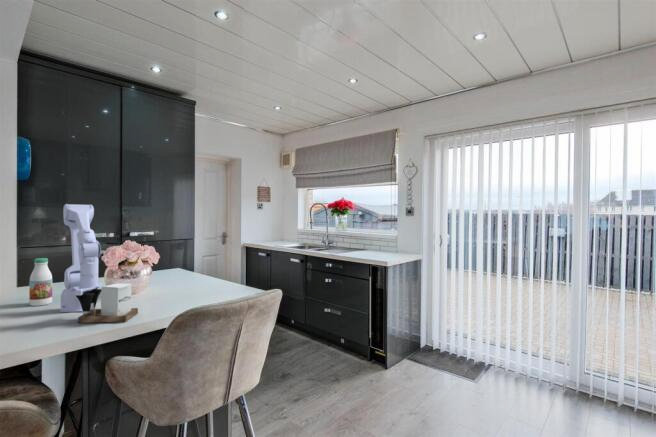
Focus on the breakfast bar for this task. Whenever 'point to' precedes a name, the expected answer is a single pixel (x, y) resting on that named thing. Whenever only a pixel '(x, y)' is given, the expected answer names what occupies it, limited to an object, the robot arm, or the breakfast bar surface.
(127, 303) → the supplement box
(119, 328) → the breakfast bar surface
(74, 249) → the robot arm
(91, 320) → the wooden serving tray
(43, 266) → the milk bottle
